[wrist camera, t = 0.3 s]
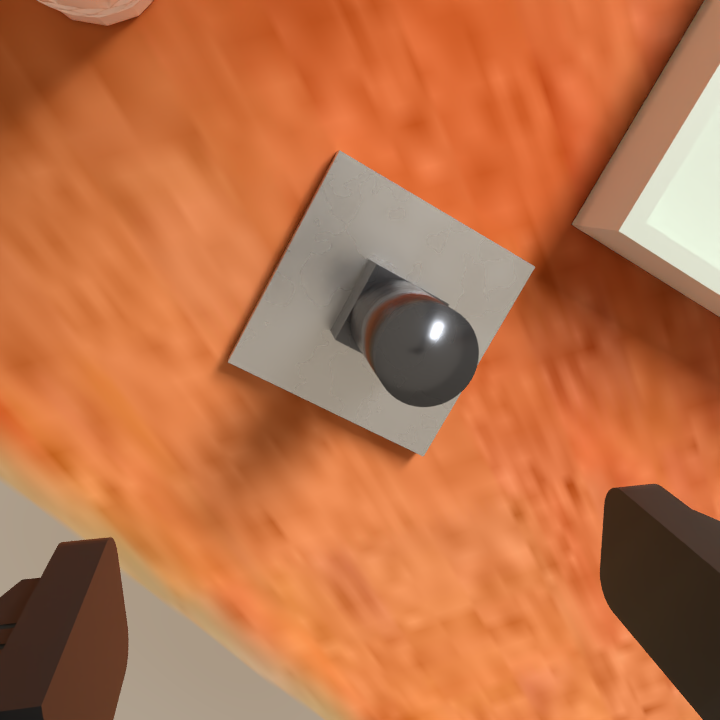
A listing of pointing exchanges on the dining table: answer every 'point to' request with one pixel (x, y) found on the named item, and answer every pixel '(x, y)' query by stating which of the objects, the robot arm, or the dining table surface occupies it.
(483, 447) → the dining table surface
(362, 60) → the dining table surface
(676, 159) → the sage bin
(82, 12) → the white cup
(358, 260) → the stud plate
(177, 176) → the dining table surface
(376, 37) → the dining table surface
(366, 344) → the dark grey stamp
